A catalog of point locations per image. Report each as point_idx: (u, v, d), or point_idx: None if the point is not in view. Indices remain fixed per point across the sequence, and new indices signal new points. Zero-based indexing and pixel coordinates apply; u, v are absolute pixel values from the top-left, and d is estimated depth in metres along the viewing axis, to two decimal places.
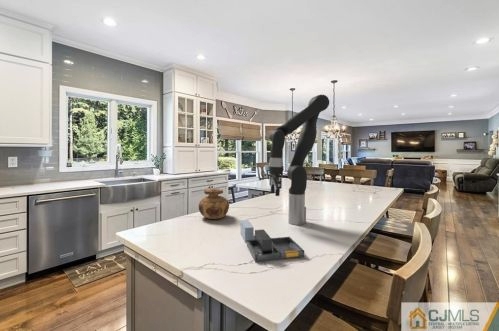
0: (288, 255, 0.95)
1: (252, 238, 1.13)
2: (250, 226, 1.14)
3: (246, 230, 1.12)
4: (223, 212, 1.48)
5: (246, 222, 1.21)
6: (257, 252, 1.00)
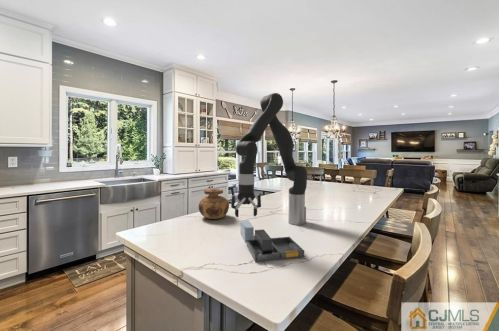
0: (288, 255, 0.95)
1: (252, 238, 1.13)
2: (250, 226, 1.14)
3: (246, 230, 1.12)
4: (223, 212, 1.48)
5: (246, 222, 1.21)
6: (257, 252, 1.00)
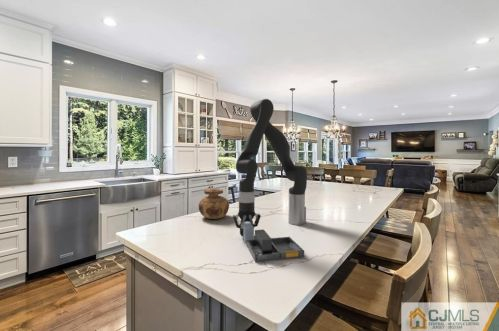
0: (288, 255, 0.95)
1: (252, 238, 1.13)
2: (250, 226, 1.14)
3: (246, 230, 1.12)
4: (223, 212, 1.48)
5: None
6: (257, 252, 1.00)
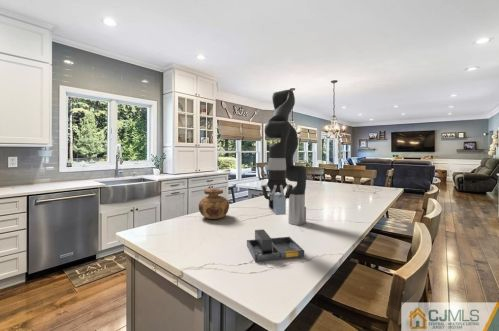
0: (288, 255, 0.95)
1: (284, 210, 0.99)
2: (282, 196, 1.00)
3: (277, 200, 0.99)
4: (223, 212, 1.48)
5: (276, 193, 1.07)
6: (257, 252, 1.00)
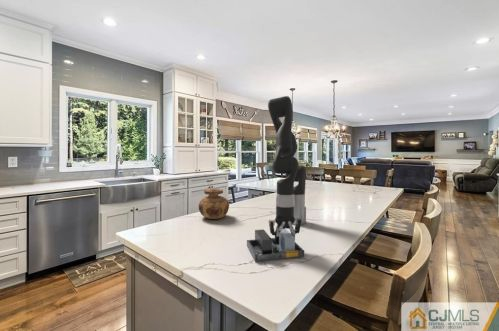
0: (288, 255, 0.95)
1: None
2: (290, 236, 0.99)
3: (287, 240, 0.97)
4: (223, 212, 1.48)
5: (283, 230, 1.06)
6: (257, 252, 1.00)
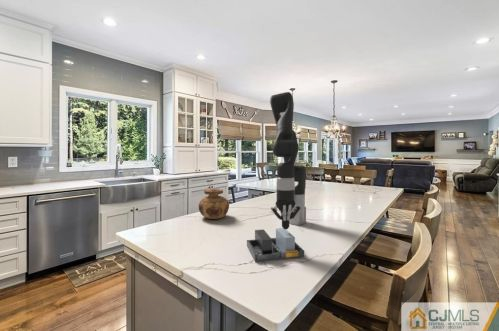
0: (288, 255, 0.95)
1: None
2: (290, 236, 0.99)
3: (287, 240, 0.97)
4: (223, 212, 1.48)
5: (283, 230, 1.06)
6: (257, 252, 1.00)
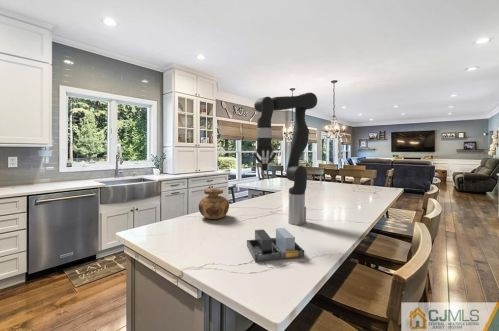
0: (288, 255, 0.95)
1: None
2: (290, 236, 0.99)
3: (287, 240, 0.97)
4: (223, 212, 1.48)
5: (283, 230, 1.06)
6: (257, 252, 1.00)
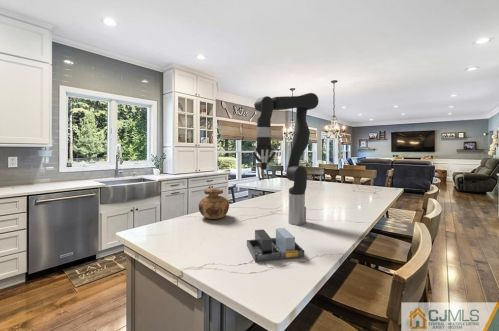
0: (288, 255, 0.95)
1: None
2: (290, 236, 0.99)
3: (287, 240, 0.97)
4: (223, 212, 1.48)
5: (283, 230, 1.06)
6: (257, 252, 1.00)
